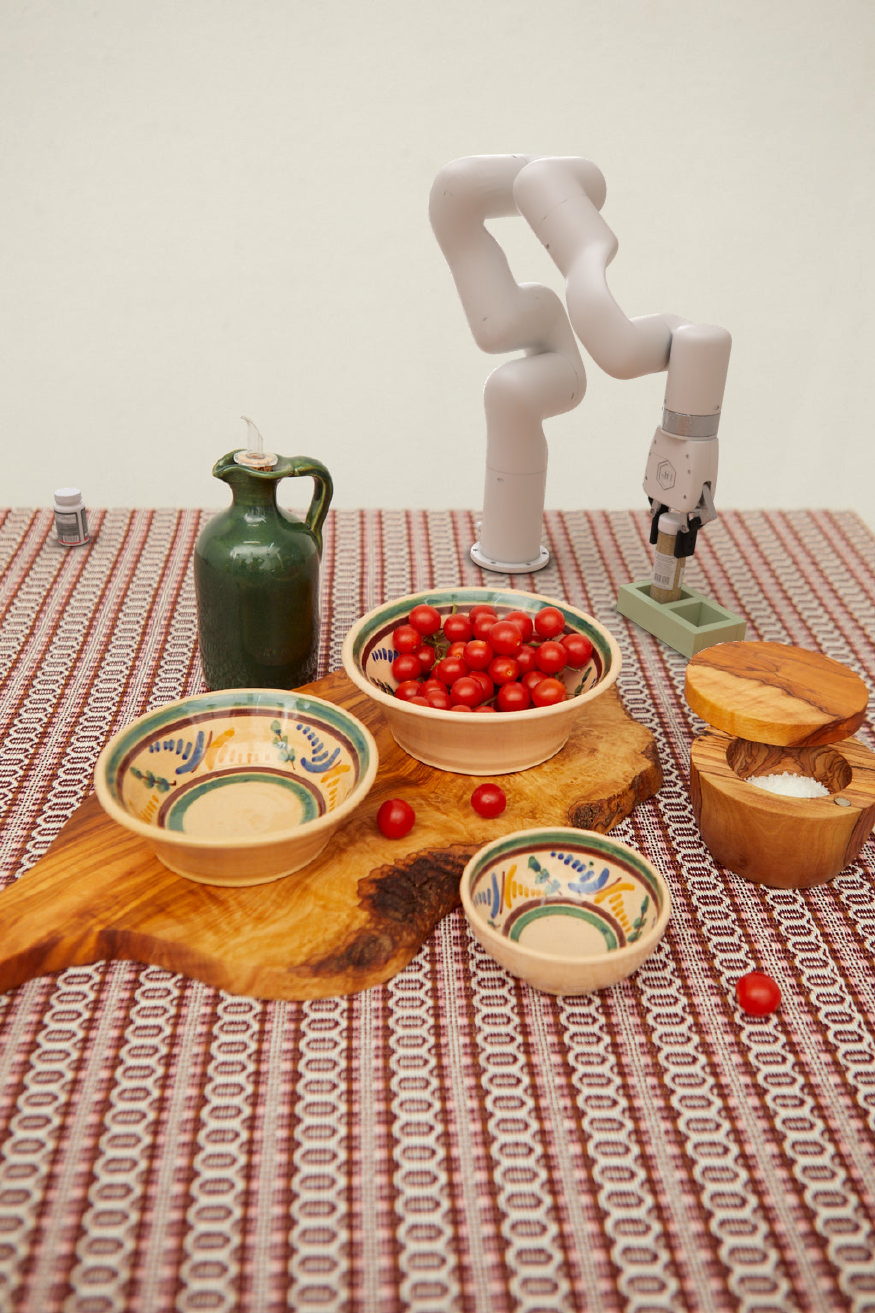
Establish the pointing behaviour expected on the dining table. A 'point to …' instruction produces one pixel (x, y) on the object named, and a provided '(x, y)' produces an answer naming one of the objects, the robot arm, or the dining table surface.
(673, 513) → the sprinkles bottle
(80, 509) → the pill bottle
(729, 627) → the socket block
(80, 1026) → the dining table surface
